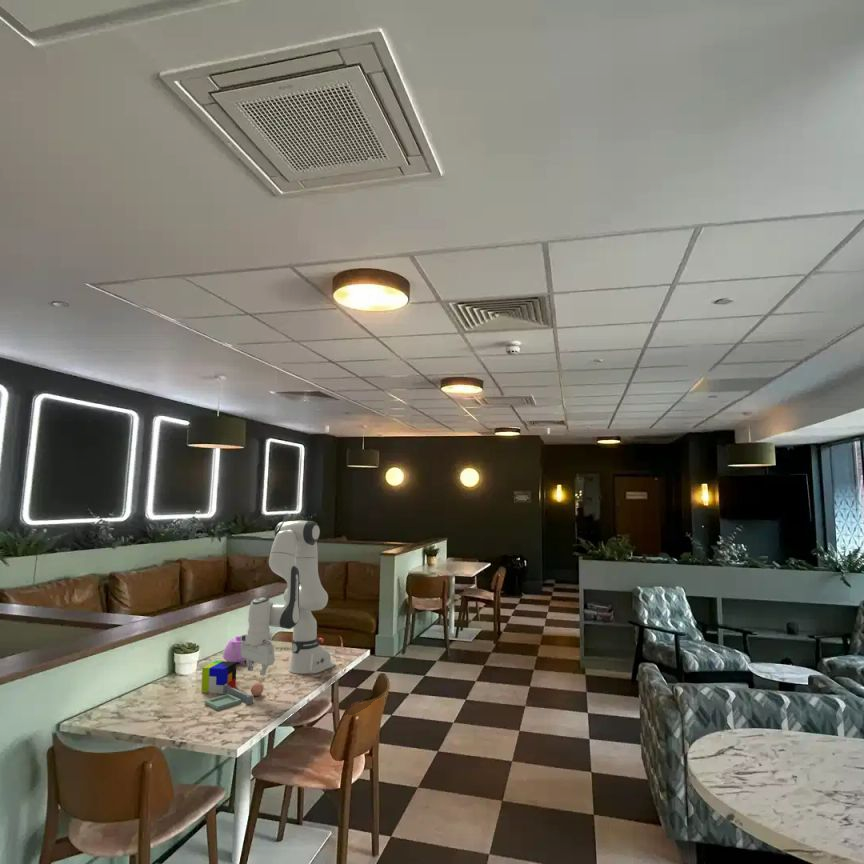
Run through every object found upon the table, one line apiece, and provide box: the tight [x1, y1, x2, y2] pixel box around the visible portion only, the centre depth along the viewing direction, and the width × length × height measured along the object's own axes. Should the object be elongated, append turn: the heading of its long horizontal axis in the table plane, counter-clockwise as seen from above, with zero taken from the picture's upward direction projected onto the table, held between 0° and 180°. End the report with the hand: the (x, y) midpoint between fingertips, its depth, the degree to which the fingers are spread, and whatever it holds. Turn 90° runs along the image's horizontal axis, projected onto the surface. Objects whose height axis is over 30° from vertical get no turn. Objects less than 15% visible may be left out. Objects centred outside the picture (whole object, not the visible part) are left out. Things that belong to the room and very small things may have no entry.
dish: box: [204, 694, 242, 711], centre depth 223 cm, size 10×10×2 cm
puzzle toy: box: [201, 660, 238, 695], centre depth 242 cm, size 10×10×10 cm
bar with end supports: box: [223, 685, 254, 706], centre depth 229 cm, size 2×19×3 cm, turn 49°
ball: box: [250, 682, 264, 697], centre depth 233 cm, size 5×5×5 cm
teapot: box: [222, 635, 246, 665], centre depth 281 cm, size 20×14×12 cm
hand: (256, 672), depth 233 cm, fingers open, 8 cm apart
